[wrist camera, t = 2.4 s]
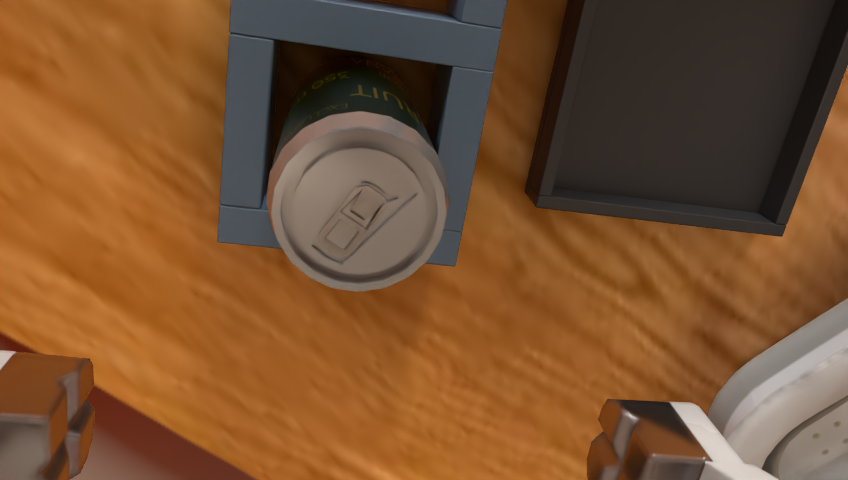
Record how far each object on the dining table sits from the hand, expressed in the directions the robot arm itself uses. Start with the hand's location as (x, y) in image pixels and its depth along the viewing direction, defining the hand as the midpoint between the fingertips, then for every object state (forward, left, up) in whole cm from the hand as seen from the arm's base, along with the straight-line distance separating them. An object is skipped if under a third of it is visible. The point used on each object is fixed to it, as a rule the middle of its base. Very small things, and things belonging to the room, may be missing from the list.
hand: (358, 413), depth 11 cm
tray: (-5, +15, -21) cm, 26 cm away
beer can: (0, 0, -22) cm, 22 cm away
